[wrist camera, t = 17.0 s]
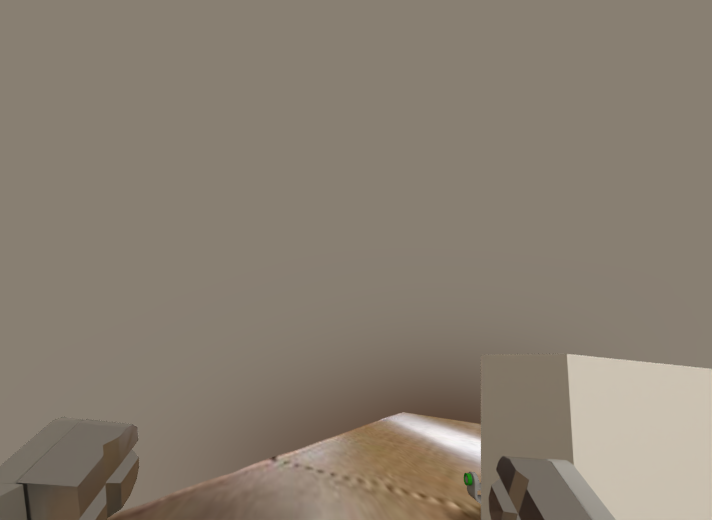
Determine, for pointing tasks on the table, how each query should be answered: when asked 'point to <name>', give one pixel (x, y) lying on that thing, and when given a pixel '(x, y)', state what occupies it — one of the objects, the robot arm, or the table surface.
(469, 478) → the mechanical component
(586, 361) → the cream block
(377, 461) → the table surface
